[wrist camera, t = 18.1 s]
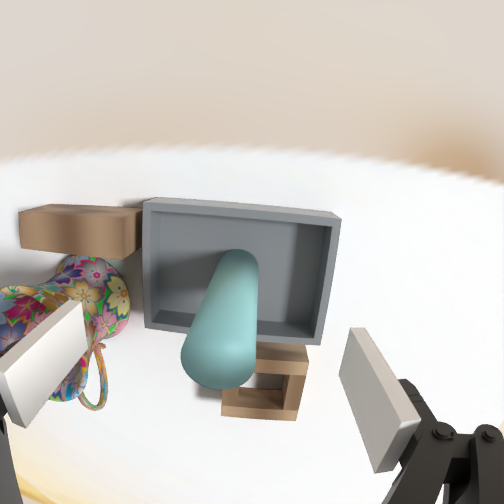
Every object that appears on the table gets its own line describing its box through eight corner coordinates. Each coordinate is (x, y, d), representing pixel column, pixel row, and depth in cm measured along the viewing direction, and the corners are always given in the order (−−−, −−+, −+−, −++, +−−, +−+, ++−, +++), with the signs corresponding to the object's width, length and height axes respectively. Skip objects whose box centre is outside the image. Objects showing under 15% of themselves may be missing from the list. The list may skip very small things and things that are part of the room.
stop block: (52, 235, 27) (20, 248, 22) (51, 203, 26) (18, 212, 21) (145, 243, 26) (122, 260, 22) (146, 208, 26) (121, 218, 21)
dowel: (217, 285, 26) (182, 385, 14) (218, 247, 25) (179, 324, 13) (256, 288, 26) (252, 392, 14) (260, 250, 25) (258, 332, 13)
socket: (224, 396, 30) (221, 415, 27) (227, 337, 28) (224, 355, 26) (293, 401, 30) (295, 420, 27) (304, 344, 28) (308, 362, 26)
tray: (157, 309, 28) (144, 327, 25) (157, 197, 25) (143, 201, 22) (313, 325, 28) (320, 345, 25) (331, 212, 25) (341, 218, 22)
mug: (42, 268, 28) (-28, 309, 17) (107, 229, 26) (34, 265, 16) (100, 367, 30) (54, 432, 20) (170, 344, 29) (134, 420, 19)
